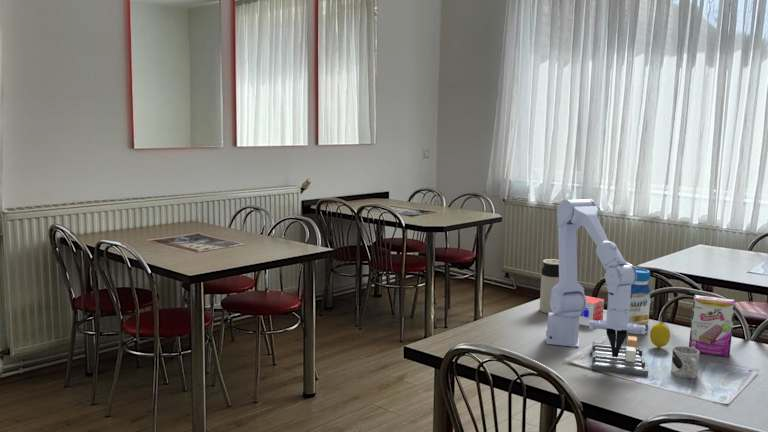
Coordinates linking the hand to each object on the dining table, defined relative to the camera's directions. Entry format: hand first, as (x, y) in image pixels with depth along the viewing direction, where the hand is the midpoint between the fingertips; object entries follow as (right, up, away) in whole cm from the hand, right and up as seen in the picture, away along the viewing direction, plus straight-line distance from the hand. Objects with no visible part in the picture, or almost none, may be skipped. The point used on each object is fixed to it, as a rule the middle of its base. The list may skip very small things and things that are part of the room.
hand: (614, 356), depth 195 cm
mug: (+17, -5, -6) cm, 19 cm away
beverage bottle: (+17, +1, +34) cm, 38 cm away
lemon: (+19, -1, +17) cm, 25 cm away
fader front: (+4, -2, -1) cm, 4 cm away
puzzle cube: (+4, +3, +42) cm, 43 cm away
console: (+3, -2, +5) cm, 6 cm away
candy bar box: (+32, -2, +14) cm, 35 cm away
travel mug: (-5, +5, +54) cm, 55 cm away
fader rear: (+7, 0, +8) cm, 11 cm away
